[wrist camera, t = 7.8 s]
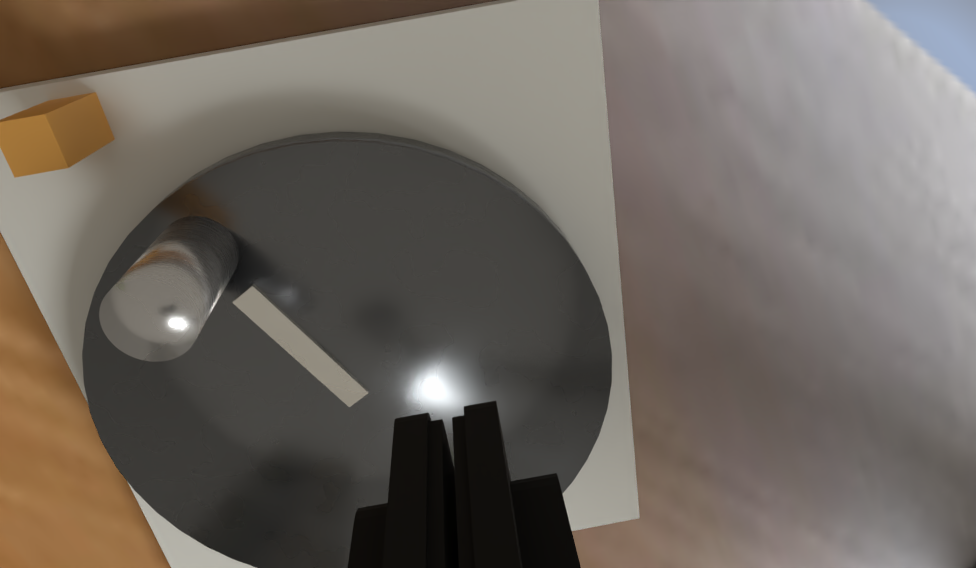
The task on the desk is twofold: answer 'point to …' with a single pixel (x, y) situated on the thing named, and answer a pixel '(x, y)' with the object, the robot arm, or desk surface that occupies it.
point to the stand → (320, 109)
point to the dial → (334, 337)
